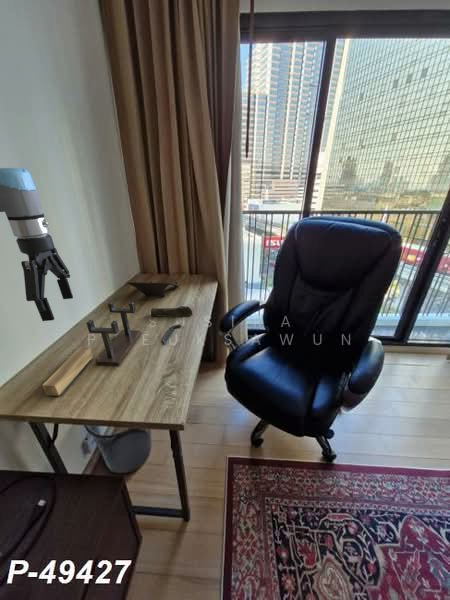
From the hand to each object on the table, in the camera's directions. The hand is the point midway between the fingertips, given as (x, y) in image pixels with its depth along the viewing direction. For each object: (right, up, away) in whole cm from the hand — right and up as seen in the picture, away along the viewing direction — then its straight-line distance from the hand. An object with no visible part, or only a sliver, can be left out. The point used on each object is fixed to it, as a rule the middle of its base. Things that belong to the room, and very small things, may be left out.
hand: (59, 308), depth 74 cm
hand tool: (+24, -5, +45) cm, 51 cm away
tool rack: (+9, -16, +23) cm, 29 cm away
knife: (+27, -12, +30) cm, 42 cm away
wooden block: (-2, -23, +9) cm, 25 cm away
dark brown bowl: (+11, +6, +68) cm, 69 cm away
